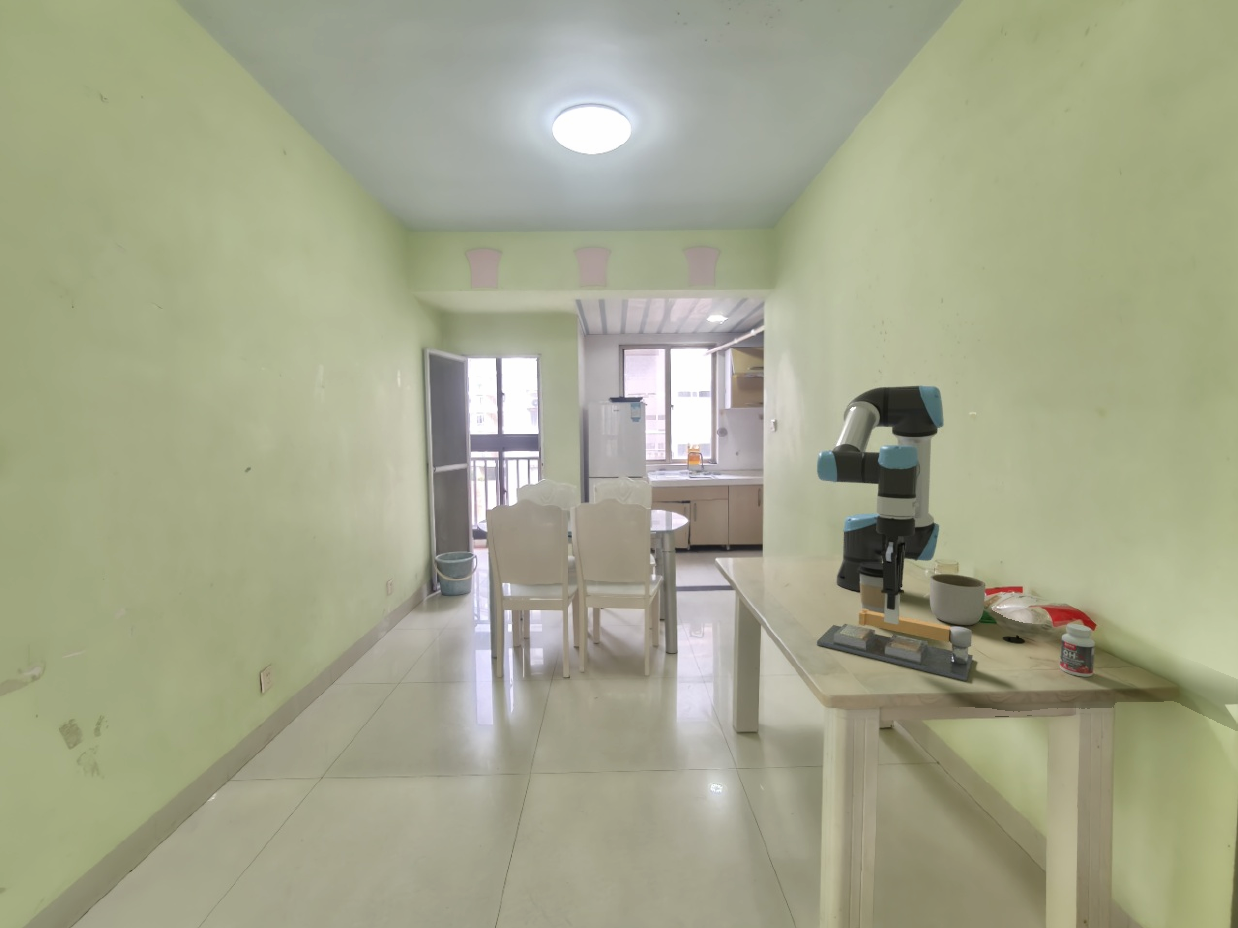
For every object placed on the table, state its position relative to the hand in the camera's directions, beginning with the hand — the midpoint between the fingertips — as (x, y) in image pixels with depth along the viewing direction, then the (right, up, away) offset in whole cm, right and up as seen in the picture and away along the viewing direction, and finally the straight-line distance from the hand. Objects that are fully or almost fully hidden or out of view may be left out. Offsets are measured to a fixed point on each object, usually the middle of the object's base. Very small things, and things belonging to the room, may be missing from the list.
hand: (891, 622), depth 120 cm
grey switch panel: (+3, -8, +5) cm, 10 cm away
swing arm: (+6, -4, +3) cm, 8 cm away
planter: (+30, -7, +26) cm, 40 cm away
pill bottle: (+37, -9, -5) cm, 38 cm away
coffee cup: (+8, -7, +25) cm, 27 cm away
